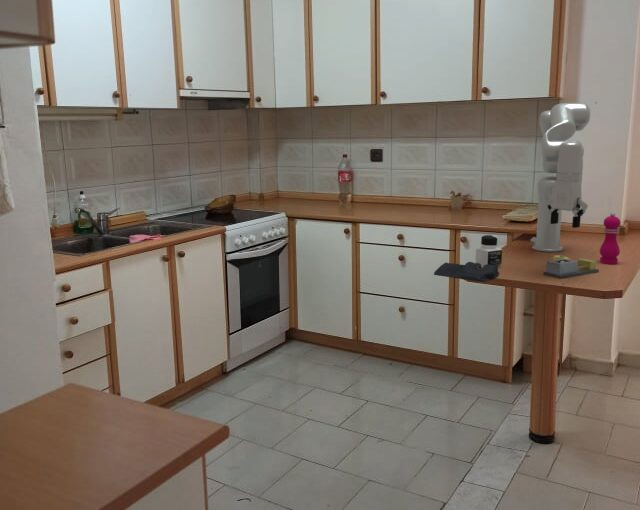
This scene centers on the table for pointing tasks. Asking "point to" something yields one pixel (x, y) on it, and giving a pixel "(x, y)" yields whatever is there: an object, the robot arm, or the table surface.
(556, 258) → the block
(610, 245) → the pepper mill
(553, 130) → the robot arm
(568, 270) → the link
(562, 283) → the table surface
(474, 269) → the dark grey cloth
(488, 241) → the medicine bottle
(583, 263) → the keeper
